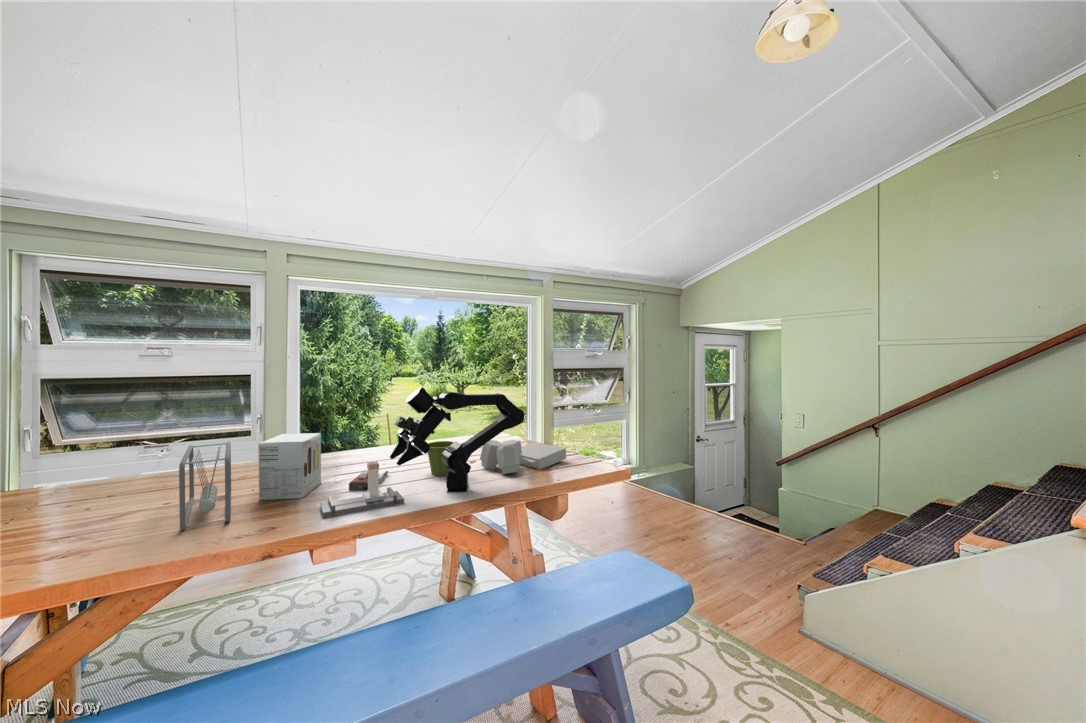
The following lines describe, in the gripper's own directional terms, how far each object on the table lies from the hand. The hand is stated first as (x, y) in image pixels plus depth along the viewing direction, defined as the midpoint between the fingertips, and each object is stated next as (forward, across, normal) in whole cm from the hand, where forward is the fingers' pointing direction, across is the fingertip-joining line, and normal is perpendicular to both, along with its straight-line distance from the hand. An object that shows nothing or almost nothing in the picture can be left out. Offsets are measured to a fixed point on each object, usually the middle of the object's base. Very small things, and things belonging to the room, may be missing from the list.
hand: (394, 461), depth 133 cm
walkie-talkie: (+11, -24, +7) cm, 28 cm away
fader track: (+15, 0, +2) cm, 15 cm away
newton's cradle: (+42, -19, -25) cm, 53 cm away
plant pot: (-7, -22, +24) cm, 34 cm away
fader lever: (+12, 0, +3) cm, 12 cm away
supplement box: (+28, -28, -10) cm, 40 cm away
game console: (-29, -16, +48) cm, 58 cm away
